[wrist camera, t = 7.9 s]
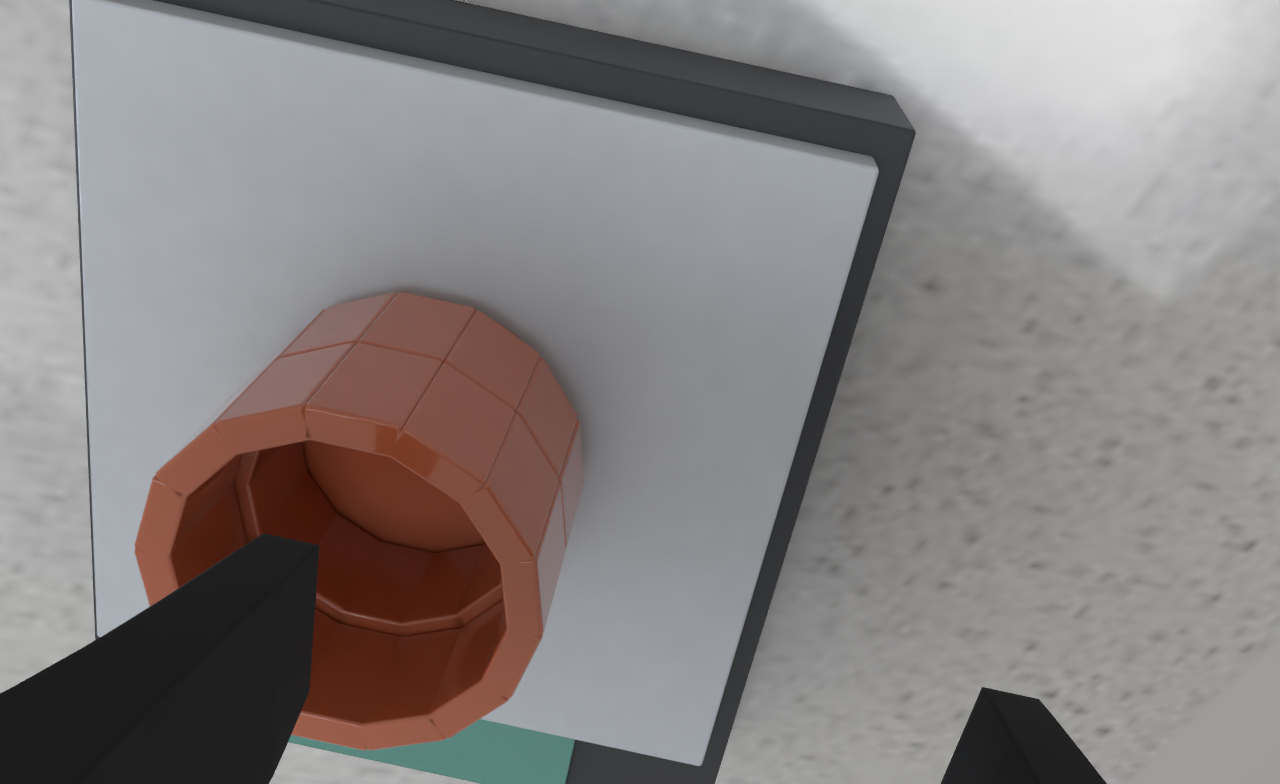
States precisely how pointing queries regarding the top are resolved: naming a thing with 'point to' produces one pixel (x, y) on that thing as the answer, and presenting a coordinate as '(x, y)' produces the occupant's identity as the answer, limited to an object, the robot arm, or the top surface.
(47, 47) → the top surface
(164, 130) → the scale
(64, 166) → the top surface
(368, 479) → the flower pot
